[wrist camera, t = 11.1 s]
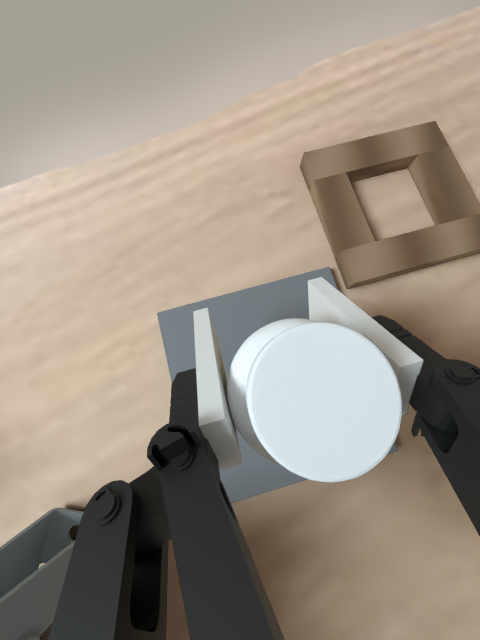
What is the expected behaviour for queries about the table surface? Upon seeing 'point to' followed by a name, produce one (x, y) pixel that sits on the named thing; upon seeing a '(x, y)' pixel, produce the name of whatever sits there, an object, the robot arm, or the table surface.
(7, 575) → the bracket
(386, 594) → the table surface
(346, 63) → the table surface
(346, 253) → the socket block
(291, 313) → the mat
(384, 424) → the supplement bottle
